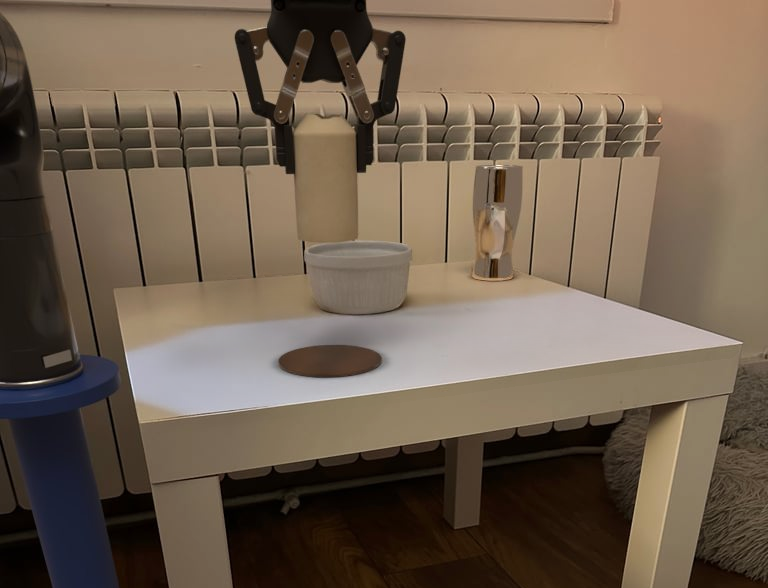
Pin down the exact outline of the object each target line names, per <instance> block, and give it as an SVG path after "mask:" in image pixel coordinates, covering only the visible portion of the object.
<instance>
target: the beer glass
mask: <svg viewBox="0 0 768 588" xmlns="http://www.w3.org/2000/svg"><path fill="white" fill-rule="evenodd" d="M523 168H524V166H523V165H516V164H515V165H514V164H482V165H476V166H475V174H474V179H473V190H472V220H473V229H474V238H475V259H474V263H473V268H472V272H471V277H472V279H475V280H479V281H487V282H503V281H508V280H511V279H513V278H514V268H513V267H514V266H513V247H514V242H515V238H516V233H517V229H518V225H519V221H520V217H521V211H522V203H523V191H524V187H523V186H524V185H523V184H524V183H523V180H524V179H523V177H524V176H523V173H524V172H523V171H524V169H523Z"/></svg>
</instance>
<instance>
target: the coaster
mask: <svg viewBox="0 0 768 588" xmlns="http://www.w3.org/2000/svg"><path fill="white" fill-rule="evenodd" d="M382 361H383V360H382V356H381V354H380V353H379V352H378V351H375V350H374V349H371V348H368V347H363V346H358V345H349V344H319V345H311V346H310V345H309V346H305V347H299V348H296V349H292V350H290V351H287V352H285V353H283V354H281V355H280V356H279V357H278V361H277V363H278V366H279V368H280V369H281V370H283V371H285V372H287V373H290V374H293V375H297V376H303V377H312V378H339V377H348V376H356V375H360V374H363V373H367V372H370V371H373V370H374V369H376V368H378V367H379V366H380V365H381V364H382Z"/></svg>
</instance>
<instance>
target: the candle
mask: <svg viewBox="0 0 768 588" xmlns="http://www.w3.org/2000/svg"><path fill="white" fill-rule="evenodd" d="M292 136H293V154H294V174H293V183H294V184H293V186H294V201H295V204H294V205H295V219H296V220H295V221H296V222H295V223H296V235H297V240H299V241H301V242H307V243H316V244H323V243H335V242H346V241H357V239H359V196H358V195H359V189H358V173H357V134H356V132H355V130H354V127H353V126H352V125H351V124H350V122H349V121H348V120H347V119H346V118H345V116H344V115H343V113H340V114H331V115H328V116H324V115H322V114H319V113H314V114H313V113H307V112H305V114H304V116H302V118H301V120H300V121H299V123H297V125H296V126H295V128H294V129H292Z"/></svg>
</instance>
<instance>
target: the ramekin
mask: <svg viewBox="0 0 768 588" xmlns="http://www.w3.org/2000/svg"><path fill="white" fill-rule="evenodd" d="M303 254H304V257H303V259H304V262H305V264H306V265H307V272H308V277H309V278H308V279H309V284H310V288H311V294H312V297H313V300H314V302H315V303H316V304H317V306H318V307H319V308H320V309H321V310H323V311H324V312H329V313H333V314H339V315H340V314H342V315H372V314H380V313H385V312H390V311H393V310H396V309H398V308H400V306H401V305H402V303H403V302H404V301H405V299H406V297H407V291H408V285H409V276H410V264H411V262H412V260H413V248H412V246H410V245H409V244H406V243H402V242H397V241H388V240H387V241H386V240H352V241H346V242H335V243H317V244H314V245H311V246H308V247H306V248H305V249H304V252H303Z"/></svg>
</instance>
